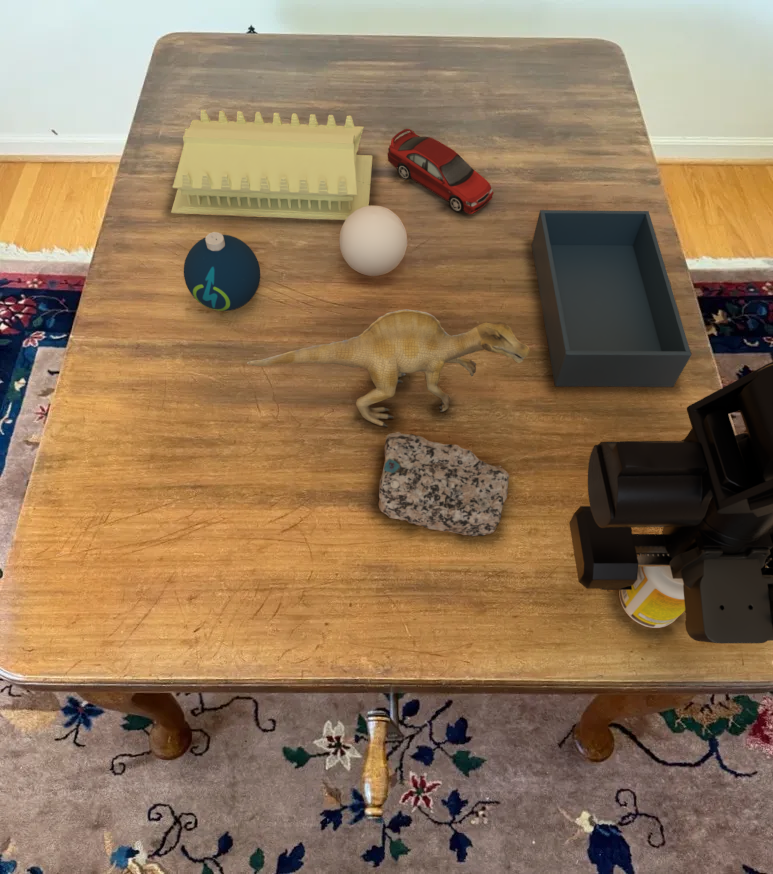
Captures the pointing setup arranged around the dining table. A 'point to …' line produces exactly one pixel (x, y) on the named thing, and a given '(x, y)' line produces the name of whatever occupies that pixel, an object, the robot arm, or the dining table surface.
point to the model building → (272, 168)
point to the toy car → (439, 171)
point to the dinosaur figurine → (405, 354)
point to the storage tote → (607, 300)
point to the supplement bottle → (654, 597)
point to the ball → (373, 240)
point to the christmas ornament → (222, 272)
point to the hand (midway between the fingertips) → (660, 586)
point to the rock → (440, 486)
